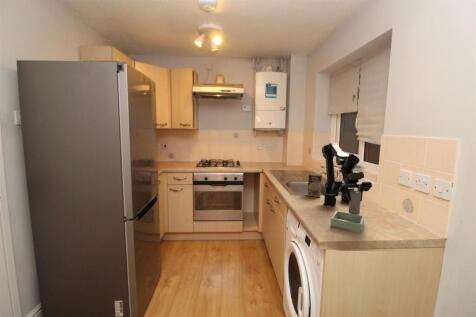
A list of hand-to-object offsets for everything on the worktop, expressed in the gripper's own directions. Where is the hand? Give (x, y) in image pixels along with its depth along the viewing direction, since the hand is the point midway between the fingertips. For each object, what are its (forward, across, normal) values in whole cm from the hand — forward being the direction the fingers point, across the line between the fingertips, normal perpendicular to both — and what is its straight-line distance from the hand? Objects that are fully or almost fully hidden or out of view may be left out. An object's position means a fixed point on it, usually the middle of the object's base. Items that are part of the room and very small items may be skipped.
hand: (355, 200), depth 115 cm
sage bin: (+9, -3, +10) cm, 14 cm away
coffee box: (-28, -5, +48) cm, 56 cm away
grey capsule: (+4, 0, +5) cm, 7 cm away
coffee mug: (-22, +15, +41) cm, 49 cm away
